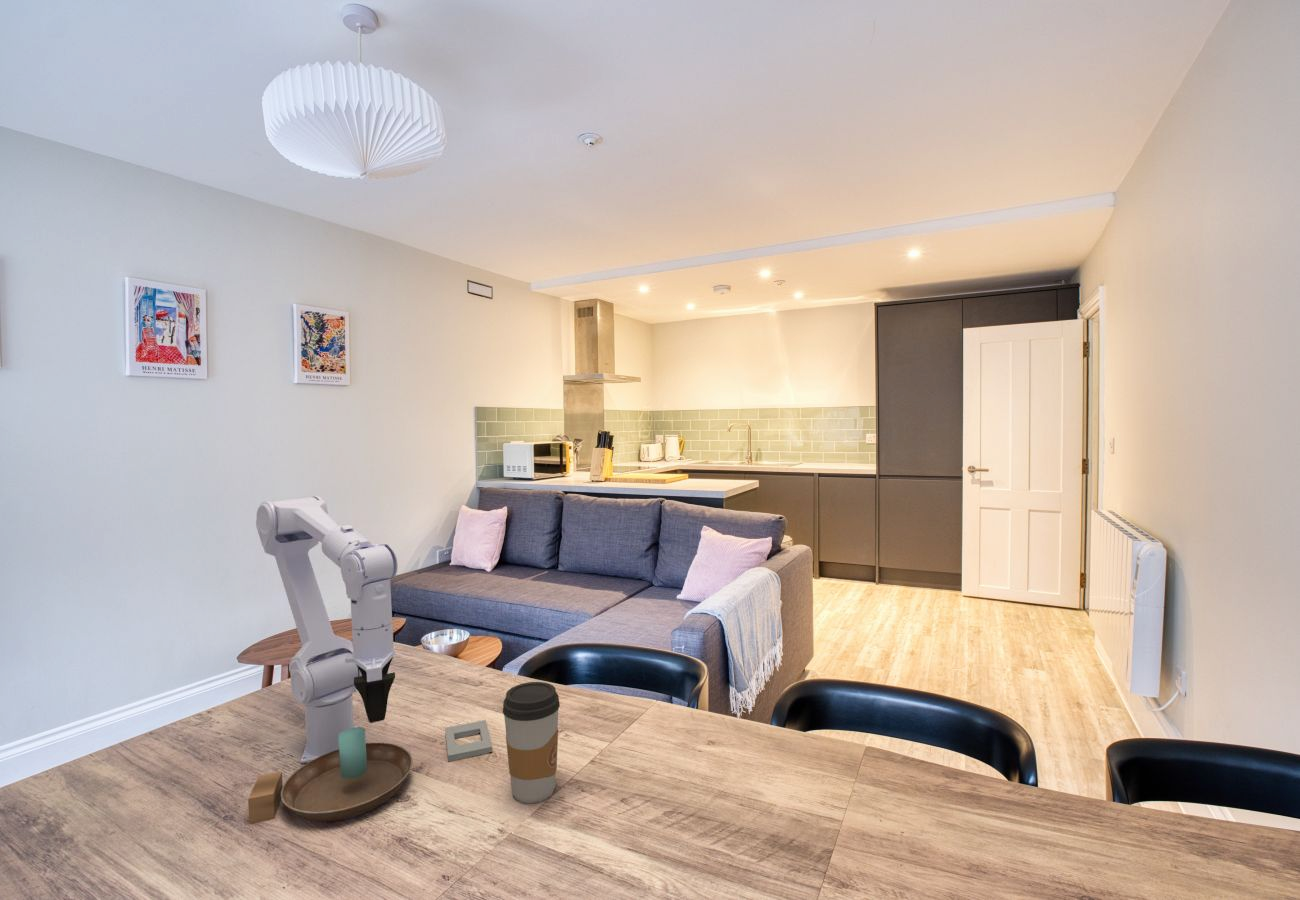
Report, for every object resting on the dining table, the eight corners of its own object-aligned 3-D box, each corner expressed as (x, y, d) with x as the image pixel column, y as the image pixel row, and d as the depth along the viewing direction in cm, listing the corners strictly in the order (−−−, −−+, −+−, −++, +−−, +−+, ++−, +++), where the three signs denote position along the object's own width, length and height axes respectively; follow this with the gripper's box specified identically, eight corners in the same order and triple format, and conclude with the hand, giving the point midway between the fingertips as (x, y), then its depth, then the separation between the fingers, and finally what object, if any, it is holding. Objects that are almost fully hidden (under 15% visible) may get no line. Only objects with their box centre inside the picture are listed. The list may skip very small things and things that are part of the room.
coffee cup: (550, 811, 85) (547, 707, 85) (495, 805, 87) (491, 702, 87) (569, 777, 94) (567, 682, 93) (519, 772, 95) (516, 678, 95)
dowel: (352, 764, 94) (350, 726, 94) (372, 766, 93) (370, 727, 93) (335, 777, 90) (332, 737, 90) (355, 779, 89) (353, 739, 89)
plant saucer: (364, 838, 81) (363, 816, 81) (251, 824, 85) (250, 803, 84) (435, 765, 99) (434, 747, 98) (339, 756, 102) (338, 738, 102)
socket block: (445, 733, 108) (445, 727, 108) (486, 725, 111) (485, 719, 111) (448, 761, 99) (448, 755, 99) (492, 752, 101) (492, 746, 101)
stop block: (259, 799, 90) (258, 775, 90) (283, 794, 91) (282, 771, 91) (249, 823, 84) (248, 798, 84) (274, 818, 85) (273, 793, 85)
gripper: (345, 616, 99) (349, 698, 100) (341, 642, 86) (346, 737, 87) (392, 609, 102) (396, 689, 103) (395, 634, 89) (399, 725, 90)
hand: (376, 710), depth 95 cm, fingers open, 7 cm apart
